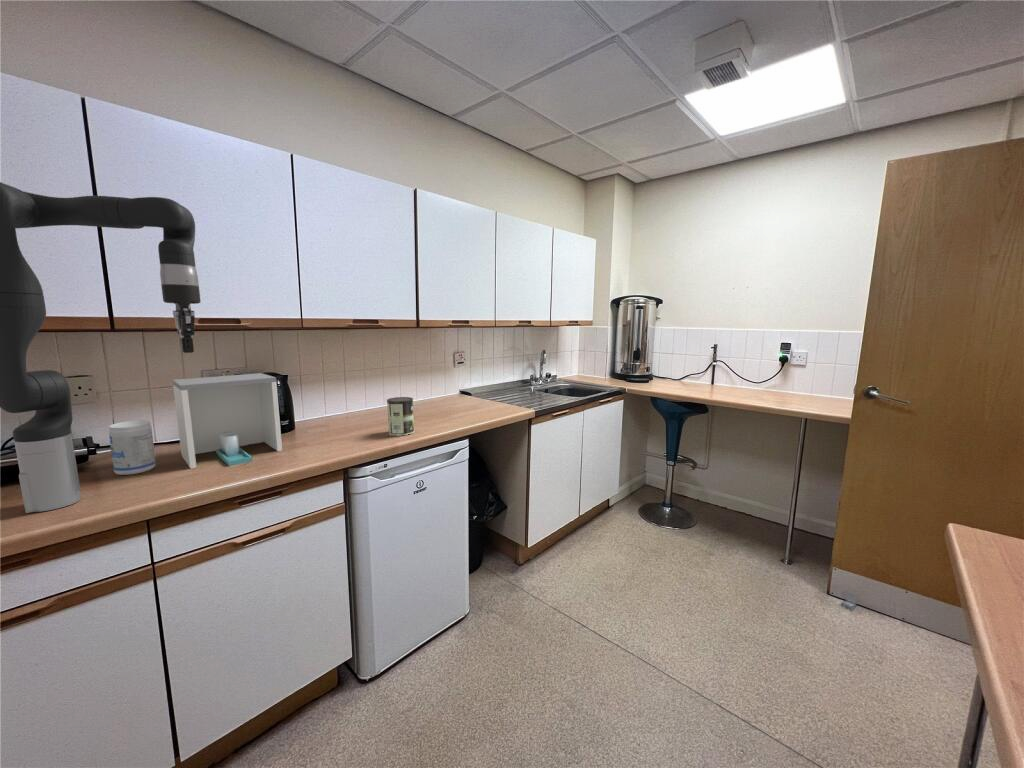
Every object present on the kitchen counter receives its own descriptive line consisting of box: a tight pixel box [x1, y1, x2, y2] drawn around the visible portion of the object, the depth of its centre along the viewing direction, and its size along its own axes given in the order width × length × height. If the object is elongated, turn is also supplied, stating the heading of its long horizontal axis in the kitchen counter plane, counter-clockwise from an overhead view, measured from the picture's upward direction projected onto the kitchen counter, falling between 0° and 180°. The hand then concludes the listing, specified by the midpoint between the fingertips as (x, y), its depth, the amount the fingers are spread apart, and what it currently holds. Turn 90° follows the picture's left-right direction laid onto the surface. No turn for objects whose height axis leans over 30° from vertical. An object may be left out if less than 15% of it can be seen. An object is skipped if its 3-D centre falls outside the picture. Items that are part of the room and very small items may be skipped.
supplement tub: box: [108, 420, 156, 476], centre depth 126 cm, size 10×10×15 cm
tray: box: [215, 432, 253, 467], centre depth 138 cm, size 18×6×8 cm, turn 46°
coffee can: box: [386, 396, 415, 437], centre depth 169 cm, size 10×10×14 cm
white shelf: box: [172, 372, 283, 469], centre depth 142 cm, size 26×18×26 cm
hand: (188, 352), depth 107 cm, fingers closed
